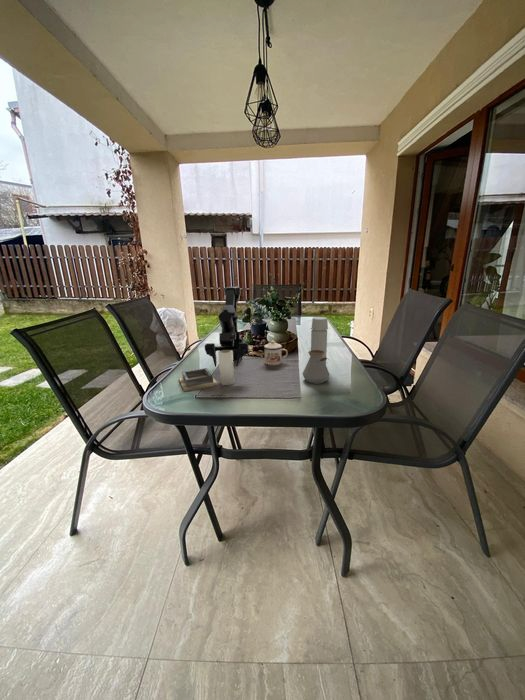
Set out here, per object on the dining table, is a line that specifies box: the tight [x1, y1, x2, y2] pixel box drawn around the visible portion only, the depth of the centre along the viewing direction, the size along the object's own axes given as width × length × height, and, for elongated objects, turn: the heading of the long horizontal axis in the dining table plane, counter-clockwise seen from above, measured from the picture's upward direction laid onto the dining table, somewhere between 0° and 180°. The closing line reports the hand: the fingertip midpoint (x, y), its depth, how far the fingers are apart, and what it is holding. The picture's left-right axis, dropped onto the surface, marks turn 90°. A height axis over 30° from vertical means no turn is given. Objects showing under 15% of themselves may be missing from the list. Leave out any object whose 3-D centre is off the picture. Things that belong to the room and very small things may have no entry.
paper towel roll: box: [217, 350, 235, 386], centre depth 122 cm, size 6×6×14 cm
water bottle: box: [310, 316, 329, 365], centre depth 133 cm, size 9×8×25 cm
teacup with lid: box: [263, 340, 289, 366], centre depth 147 cm, size 12×9×12 cm
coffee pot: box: [302, 349, 330, 385], centre depth 118 cm, size 21×12×15 cm, turn 3°
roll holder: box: [178, 367, 219, 392], centre depth 125 cm, size 14×14×4 cm
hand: (226, 366), depth 121 cm, fingers open, 9 cm apart
